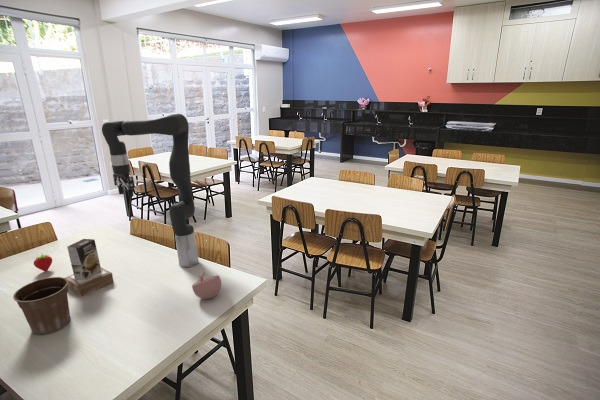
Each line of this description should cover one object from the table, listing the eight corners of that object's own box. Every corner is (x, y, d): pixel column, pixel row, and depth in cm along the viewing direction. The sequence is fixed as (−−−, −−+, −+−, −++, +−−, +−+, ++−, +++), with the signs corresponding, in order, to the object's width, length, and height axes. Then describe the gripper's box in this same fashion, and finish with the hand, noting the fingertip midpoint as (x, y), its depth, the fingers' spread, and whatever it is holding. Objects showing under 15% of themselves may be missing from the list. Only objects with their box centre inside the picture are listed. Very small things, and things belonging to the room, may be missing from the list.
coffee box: (86, 280, 146) (78, 247, 141) (74, 279, 147) (65, 246, 142) (102, 270, 154) (95, 239, 149) (91, 269, 156) (83, 237, 151)
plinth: (113, 282, 154) (111, 272, 153) (81, 296, 143) (79, 286, 142) (98, 273, 162) (96, 264, 160) (67, 287, 151) (64, 277, 149)
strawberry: (35, 271, 165) (30, 253, 162) (53, 266, 170) (48, 248, 167) (37, 276, 161) (32, 257, 158) (56, 270, 166) (51, 252, 163)
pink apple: (213, 285, 150) (211, 263, 147) (227, 296, 142) (225, 273, 139) (188, 296, 142) (185, 273, 139) (202, 308, 134) (199, 284, 131)
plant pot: (87, 315, 131) (78, 280, 126) (45, 343, 116) (33, 305, 111) (58, 308, 136) (48, 273, 131) (14, 333, 122) (2, 296, 117)
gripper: (136, 163, 158) (141, 195, 163) (120, 160, 166) (125, 191, 171) (120, 166, 152) (127, 199, 157) (104, 163, 160) (111, 195, 165)
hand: (126, 195), depth 164 cm, fingers open, 8 cm apart
